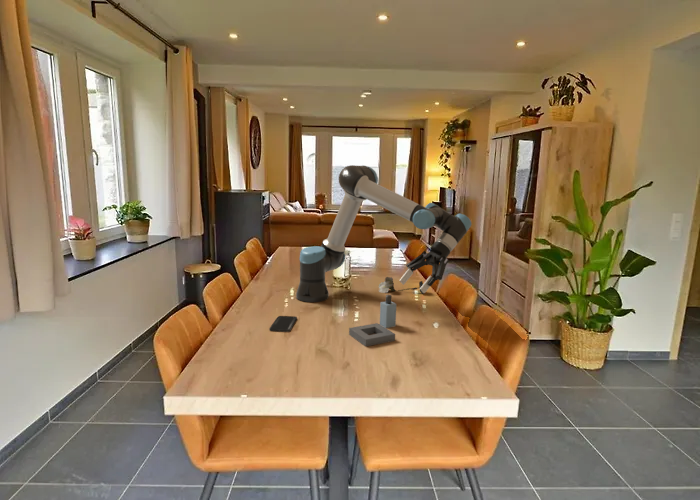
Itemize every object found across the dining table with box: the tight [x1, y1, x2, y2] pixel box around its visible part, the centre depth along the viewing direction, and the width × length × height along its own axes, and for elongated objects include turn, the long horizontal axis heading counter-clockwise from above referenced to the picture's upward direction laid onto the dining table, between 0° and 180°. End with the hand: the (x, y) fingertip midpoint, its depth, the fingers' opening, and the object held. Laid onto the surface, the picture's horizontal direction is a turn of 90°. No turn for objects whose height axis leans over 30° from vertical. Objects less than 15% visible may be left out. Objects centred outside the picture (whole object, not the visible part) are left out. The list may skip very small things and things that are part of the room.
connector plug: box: [379, 294, 397, 329], centre depth 164 cm, size 4×4×12 cm
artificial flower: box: [378, 276, 424, 295], centre depth 210 cm, size 9×22×10 cm, turn 77°
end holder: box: [348, 322, 396, 347], centre depth 152 cm, size 12×12×2 cm
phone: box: [268, 315, 298, 333], centre depth 164 cm, size 8×1×15 cm
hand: (411, 286), depth 167 cm, fingers open, 13 cm apart
